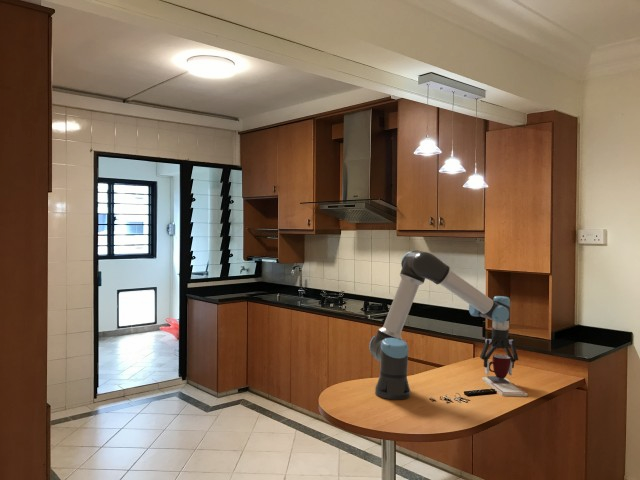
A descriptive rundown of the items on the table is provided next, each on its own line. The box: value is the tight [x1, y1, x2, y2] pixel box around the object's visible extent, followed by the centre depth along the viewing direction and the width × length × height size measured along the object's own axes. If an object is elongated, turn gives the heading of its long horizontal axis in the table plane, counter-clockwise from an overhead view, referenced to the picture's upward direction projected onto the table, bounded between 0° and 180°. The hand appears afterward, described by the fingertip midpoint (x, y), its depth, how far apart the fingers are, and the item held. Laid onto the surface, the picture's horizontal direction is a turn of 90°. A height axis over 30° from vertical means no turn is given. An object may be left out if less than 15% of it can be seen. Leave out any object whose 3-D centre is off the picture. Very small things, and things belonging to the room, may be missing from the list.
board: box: [481, 375, 529, 397], centre depth 240 cm, size 12×24×2 cm, turn 3°
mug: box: [489, 354, 510, 378], centre depth 247 cm, size 11×8×10 cm
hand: (498, 374), depth 247 cm, fingers closed on mug, 11 cm apart
